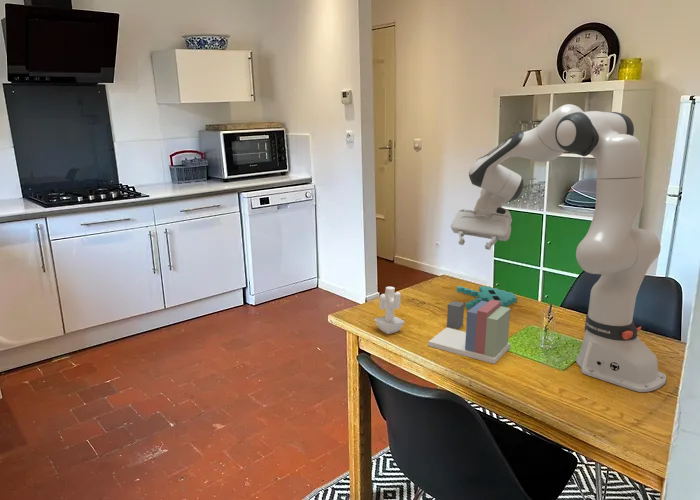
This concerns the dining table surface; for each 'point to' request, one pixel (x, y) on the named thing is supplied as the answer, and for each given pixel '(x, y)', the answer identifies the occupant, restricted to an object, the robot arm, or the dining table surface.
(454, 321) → the bookend block
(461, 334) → the shelf board
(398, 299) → the figurine
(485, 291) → the alien figure
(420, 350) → the dining table surface
